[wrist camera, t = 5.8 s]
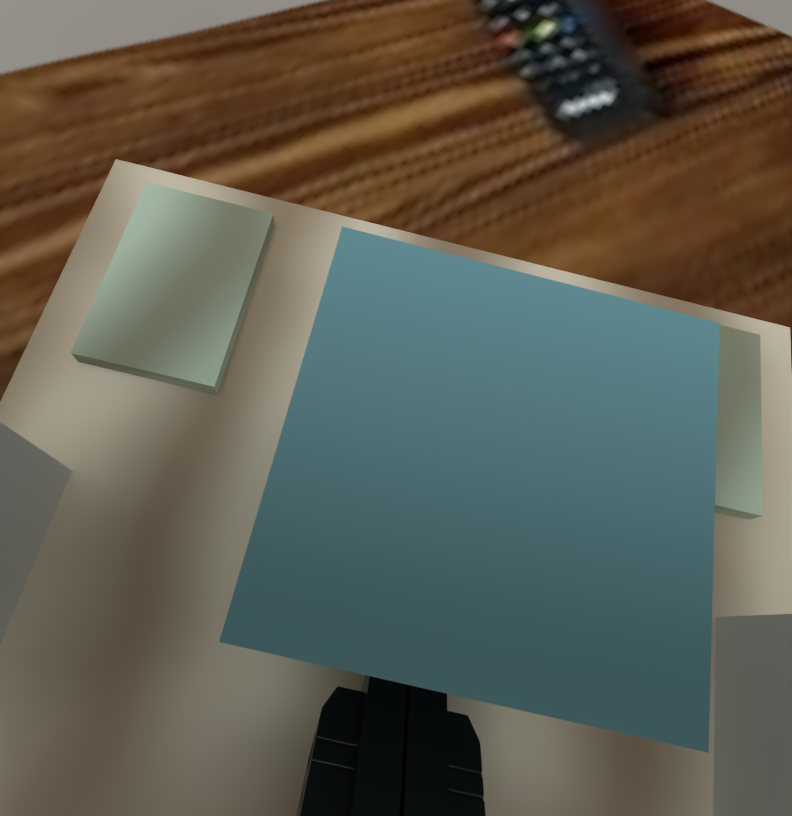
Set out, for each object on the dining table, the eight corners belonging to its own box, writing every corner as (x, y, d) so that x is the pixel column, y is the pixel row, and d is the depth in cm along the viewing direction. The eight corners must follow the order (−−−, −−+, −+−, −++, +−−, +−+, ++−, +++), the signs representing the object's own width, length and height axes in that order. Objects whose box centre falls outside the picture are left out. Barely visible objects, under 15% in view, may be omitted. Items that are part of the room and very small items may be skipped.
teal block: (271, 635, 16) (219, 641, 7) (330, 417, 18) (342, 225, 9) (500, 687, 16) (708, 752, 7) (531, 466, 18) (719, 322, 10)
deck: (-340, 1314, 13) (-577, 1561, 9) (140, 217, 23) (109, 145, 19) (729, 1491, 14) (867, 1773, 10) (733, 363, 24) (802, 319, 20)
